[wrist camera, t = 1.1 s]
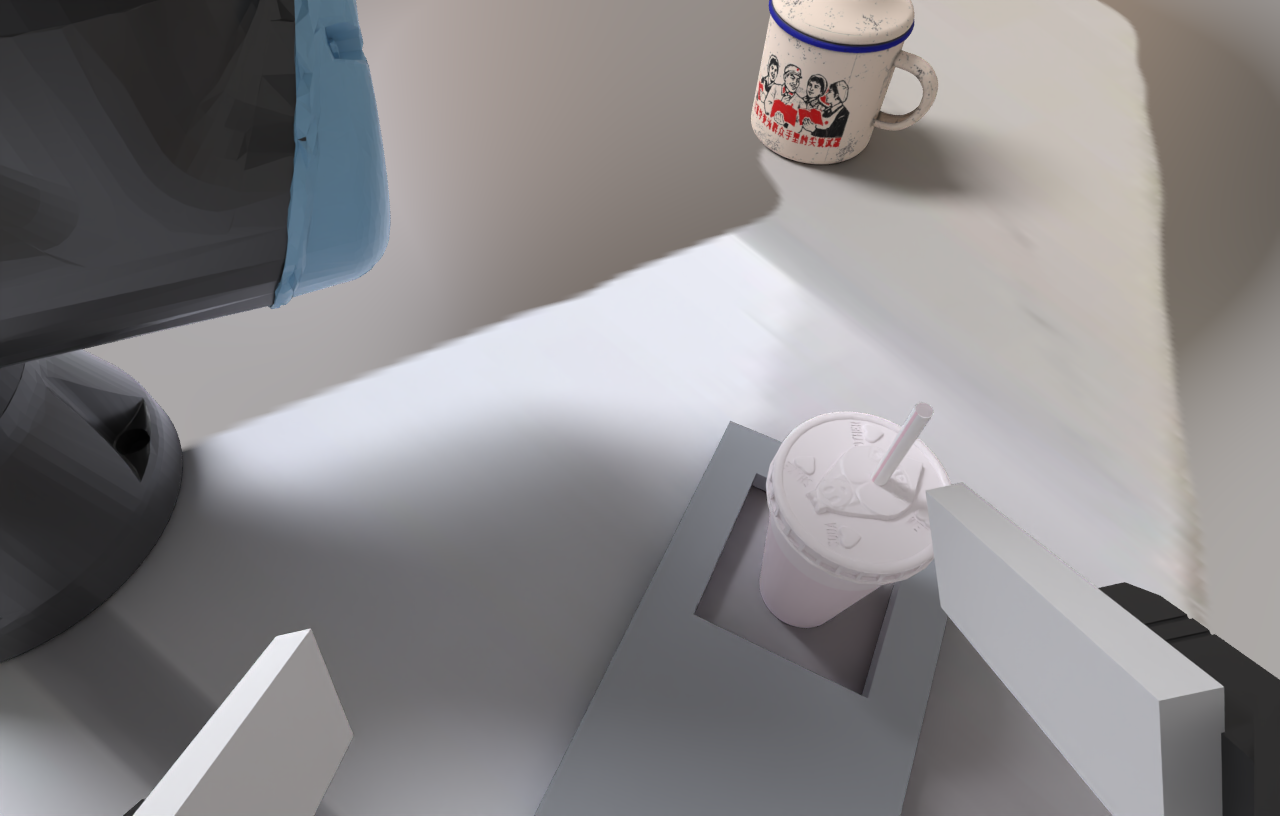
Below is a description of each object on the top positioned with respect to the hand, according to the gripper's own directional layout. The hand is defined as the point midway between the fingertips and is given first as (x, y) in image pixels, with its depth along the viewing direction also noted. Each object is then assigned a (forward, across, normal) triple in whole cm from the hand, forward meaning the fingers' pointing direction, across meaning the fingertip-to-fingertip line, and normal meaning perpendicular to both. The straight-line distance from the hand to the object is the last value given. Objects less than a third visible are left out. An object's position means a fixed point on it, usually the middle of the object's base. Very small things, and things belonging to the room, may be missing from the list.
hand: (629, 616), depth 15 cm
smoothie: (+16, +6, -10) cm, 20 cm away
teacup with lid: (+42, +18, +10) cm, 46 cm away
